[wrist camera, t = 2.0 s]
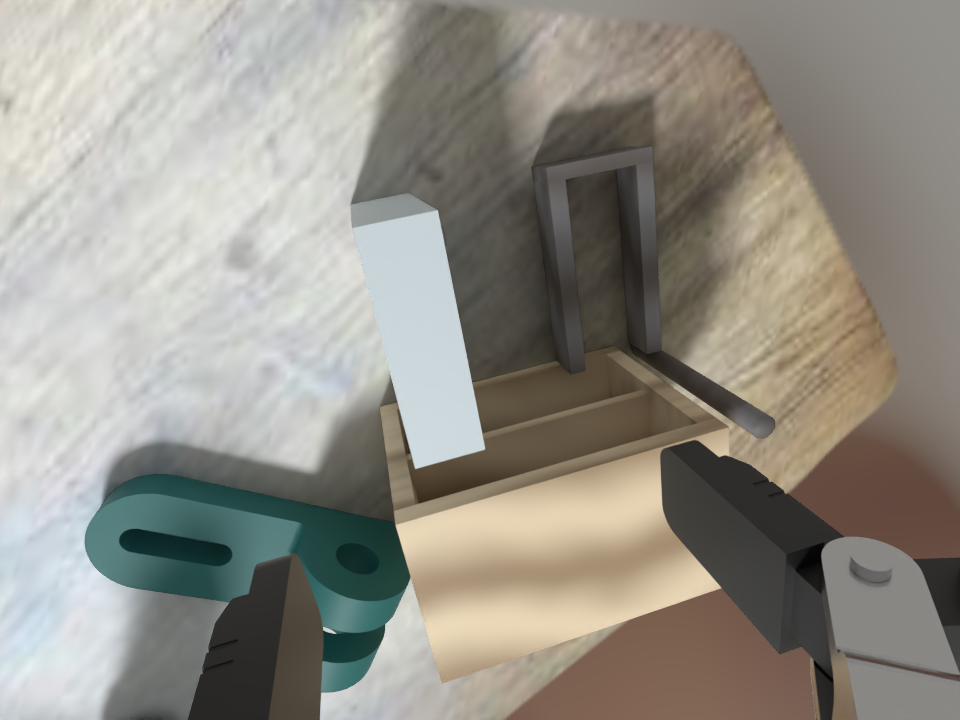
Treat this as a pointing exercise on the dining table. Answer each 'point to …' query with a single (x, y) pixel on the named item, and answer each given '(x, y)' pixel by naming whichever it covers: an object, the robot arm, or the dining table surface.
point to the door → (418, 325)
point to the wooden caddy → (562, 465)
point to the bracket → (255, 556)
